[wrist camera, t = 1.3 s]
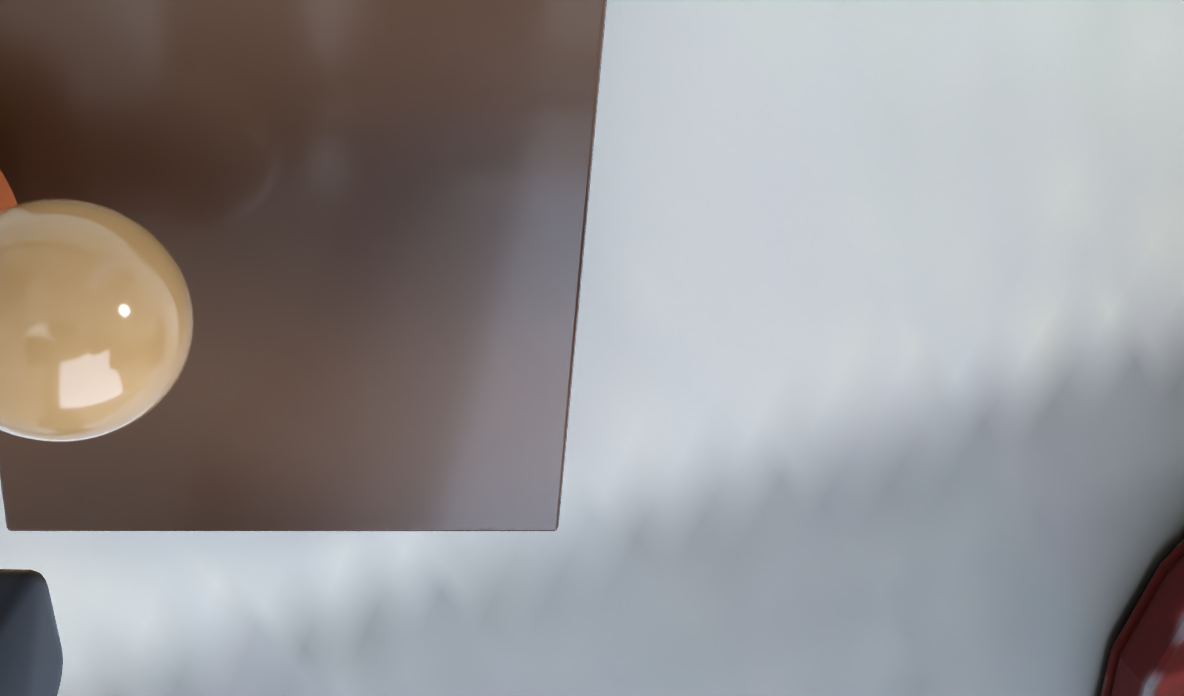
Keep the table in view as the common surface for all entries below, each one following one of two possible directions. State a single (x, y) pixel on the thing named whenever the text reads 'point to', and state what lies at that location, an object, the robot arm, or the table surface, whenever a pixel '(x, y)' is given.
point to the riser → (322, 252)
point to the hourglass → (1152, 638)
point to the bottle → (85, 319)
